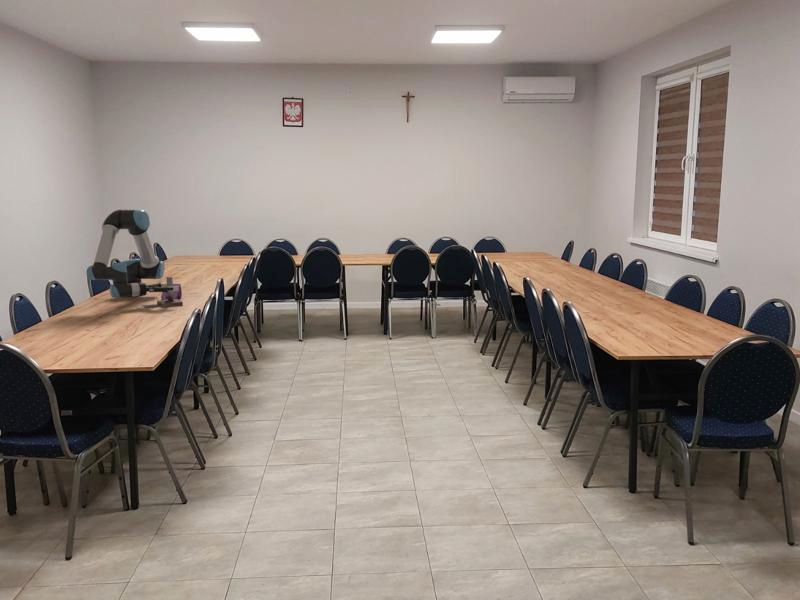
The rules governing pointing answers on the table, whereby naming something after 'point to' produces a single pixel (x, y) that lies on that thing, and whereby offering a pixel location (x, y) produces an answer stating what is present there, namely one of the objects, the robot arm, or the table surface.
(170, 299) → the peg
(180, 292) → the mounting bracket
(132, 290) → the robot arm
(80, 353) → the table surface
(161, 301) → the collar
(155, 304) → the mat
